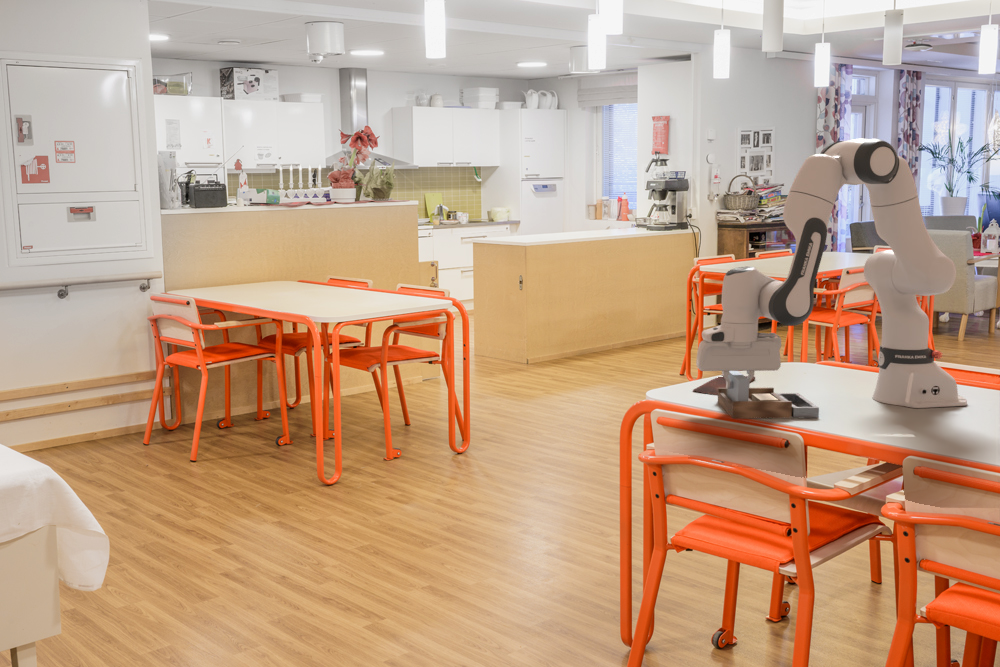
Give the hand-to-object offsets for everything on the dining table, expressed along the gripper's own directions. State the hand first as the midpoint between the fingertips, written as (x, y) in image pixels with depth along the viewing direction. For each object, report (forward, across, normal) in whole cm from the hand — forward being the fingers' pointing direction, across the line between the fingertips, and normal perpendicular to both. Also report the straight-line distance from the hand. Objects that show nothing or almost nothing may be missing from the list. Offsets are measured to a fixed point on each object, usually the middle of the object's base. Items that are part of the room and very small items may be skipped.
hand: (737, 388), depth 233 cm
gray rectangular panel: (+6, 0, 0) cm, 6 cm away
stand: (+6, -14, 0) cm, 16 cm away
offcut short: (+4, -7, 0) cm, 8 cm away
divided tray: (+6, -2, 0) cm, 6 cm away
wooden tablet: (+5, -7, -26) cm, 28 cm away
